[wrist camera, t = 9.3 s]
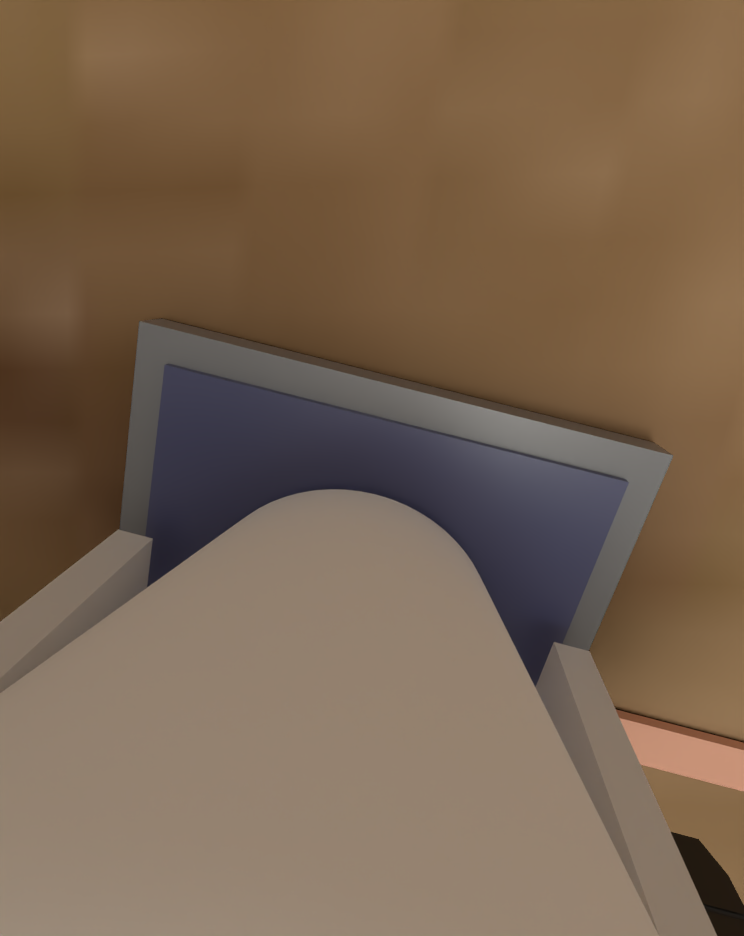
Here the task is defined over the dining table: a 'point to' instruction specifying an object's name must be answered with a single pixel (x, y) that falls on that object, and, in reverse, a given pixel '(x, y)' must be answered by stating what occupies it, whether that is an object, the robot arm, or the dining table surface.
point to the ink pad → (386, 470)
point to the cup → (301, 752)
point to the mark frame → (685, 751)
